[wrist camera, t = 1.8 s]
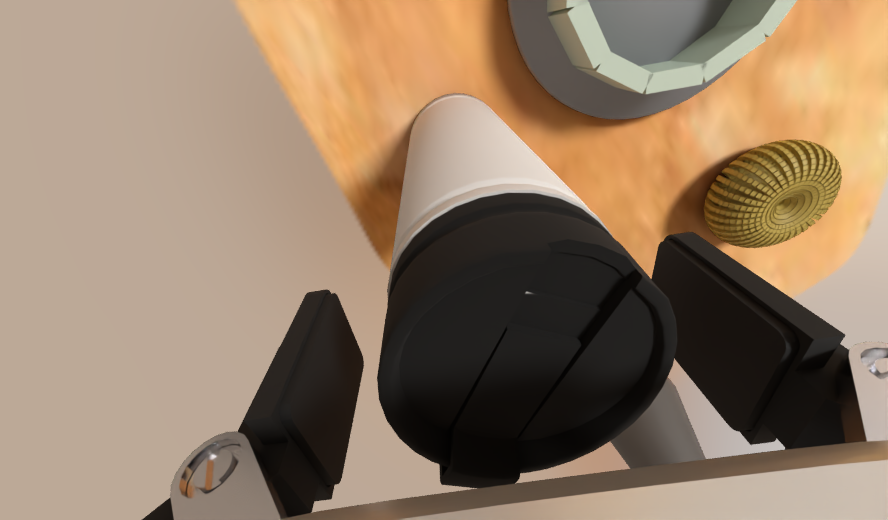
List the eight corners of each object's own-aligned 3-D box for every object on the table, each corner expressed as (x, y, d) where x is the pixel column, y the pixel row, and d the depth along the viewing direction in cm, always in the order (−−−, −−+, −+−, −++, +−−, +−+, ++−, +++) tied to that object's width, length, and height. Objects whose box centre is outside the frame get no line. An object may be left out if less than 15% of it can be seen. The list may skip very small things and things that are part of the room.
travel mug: (398, 176, 24) (340, 480, 7) (425, 77, 21) (429, 226, 4) (478, 200, 25) (582, 505, 9) (515, 111, 22) (798, 329, 5)
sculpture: (853, 120, 20) (868, 211, 23) (790, 108, 23) (811, 189, 27) (714, 205, 22) (746, 276, 26) (676, 184, 26) (709, 248, 29)
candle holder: (568, 345, 35) (784, 801, 14) (538, 313, 32) (750, 819, 11) (624, 316, 33) (972, 793, 12) (597, 278, 30) (987, 813, 9)
